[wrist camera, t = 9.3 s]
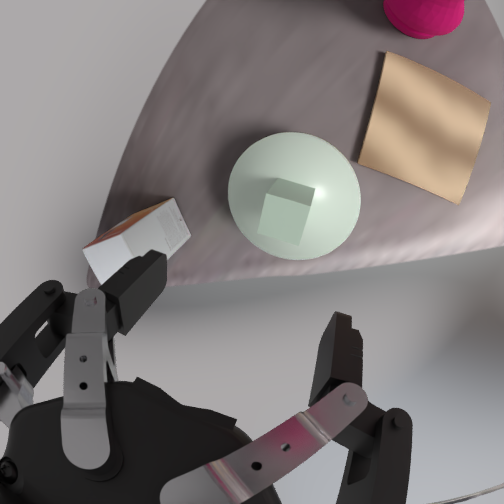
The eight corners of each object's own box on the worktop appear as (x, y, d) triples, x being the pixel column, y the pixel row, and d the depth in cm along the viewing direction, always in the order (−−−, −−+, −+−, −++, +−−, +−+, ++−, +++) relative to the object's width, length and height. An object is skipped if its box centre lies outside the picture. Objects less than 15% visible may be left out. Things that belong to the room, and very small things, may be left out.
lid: (243, 118, 22) (219, 122, 18) (377, 155, 21) (388, 169, 16) (222, 235, 29) (200, 261, 24) (335, 270, 27) (333, 305, 22)
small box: (175, 196, 34) (121, 232, 25) (192, 236, 36) (147, 282, 27) (131, 213, 37) (79, 248, 28) (148, 248, 39) (102, 290, 30)
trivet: (385, 52, 20) (387, 50, 19) (486, 102, 18) (491, 102, 17) (357, 161, 26) (357, 163, 25) (455, 202, 24) (458, 205, 24)
